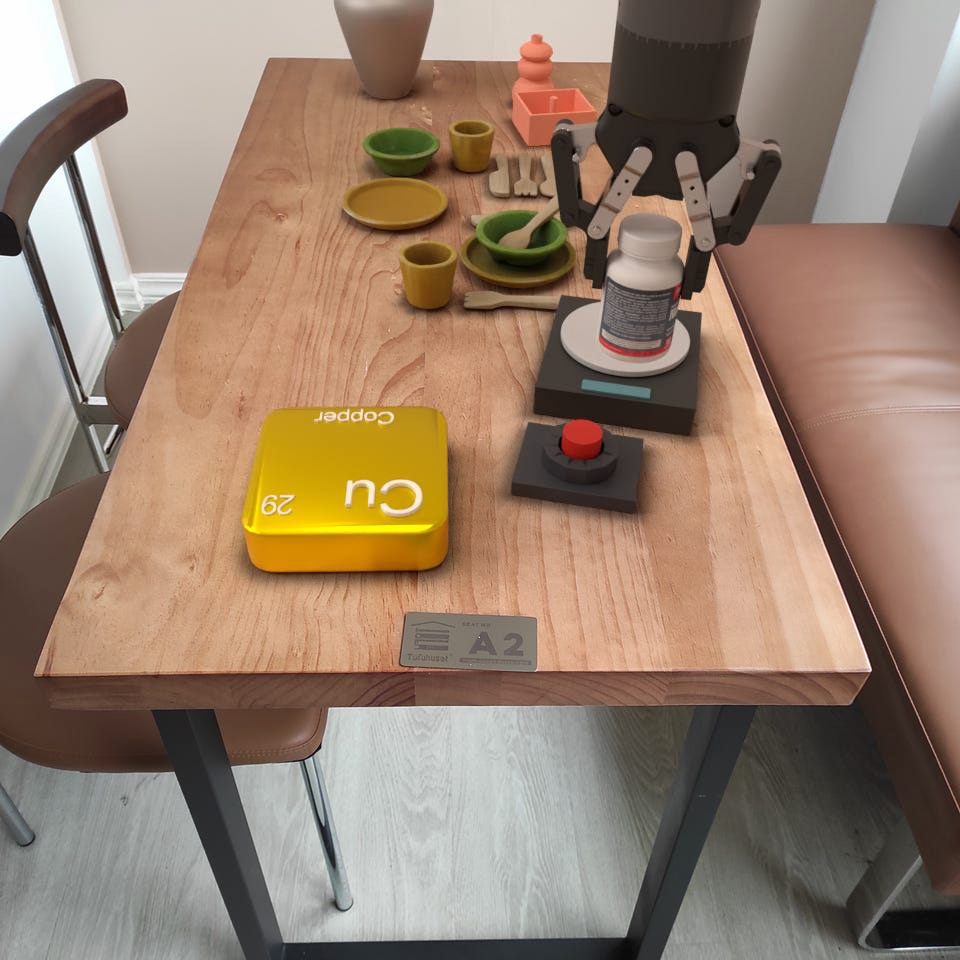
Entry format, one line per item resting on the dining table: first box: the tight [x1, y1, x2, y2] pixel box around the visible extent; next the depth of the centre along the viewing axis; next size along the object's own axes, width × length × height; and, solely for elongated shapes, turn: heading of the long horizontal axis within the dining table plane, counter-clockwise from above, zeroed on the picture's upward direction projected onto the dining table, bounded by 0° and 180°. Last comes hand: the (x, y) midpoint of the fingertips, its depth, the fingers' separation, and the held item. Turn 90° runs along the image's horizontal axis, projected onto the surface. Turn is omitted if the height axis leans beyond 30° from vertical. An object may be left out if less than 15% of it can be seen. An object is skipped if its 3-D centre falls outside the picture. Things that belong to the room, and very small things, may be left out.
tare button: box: [561, 419, 603, 460], centre depth 75 cm, size 3×3×2 cm
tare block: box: [510, 421, 645, 514], centre depth 77 cm, size 10×8×3 cm
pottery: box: [511, 33, 598, 147], centre depth 132 cm, size 18×10×10 cm, turn 13°
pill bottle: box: [596, 212, 685, 363], centre depth 62 cm, size 5×5×9 cm
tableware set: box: [340, 118, 577, 311], centre depth 108 cm, size 41×28×6 cm
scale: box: [532, 294, 703, 437], centre depth 87 cm, size 14×16×4 cm
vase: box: [333, 0, 435, 100], centre depth 134 cm, size 14×14×25 cm
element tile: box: [241, 405, 449, 573], centre depth 73 cm, size 15×15×5 cm
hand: (642, 287), depth 62 cm, fingers closed on pill bottle, 5 cm apart
